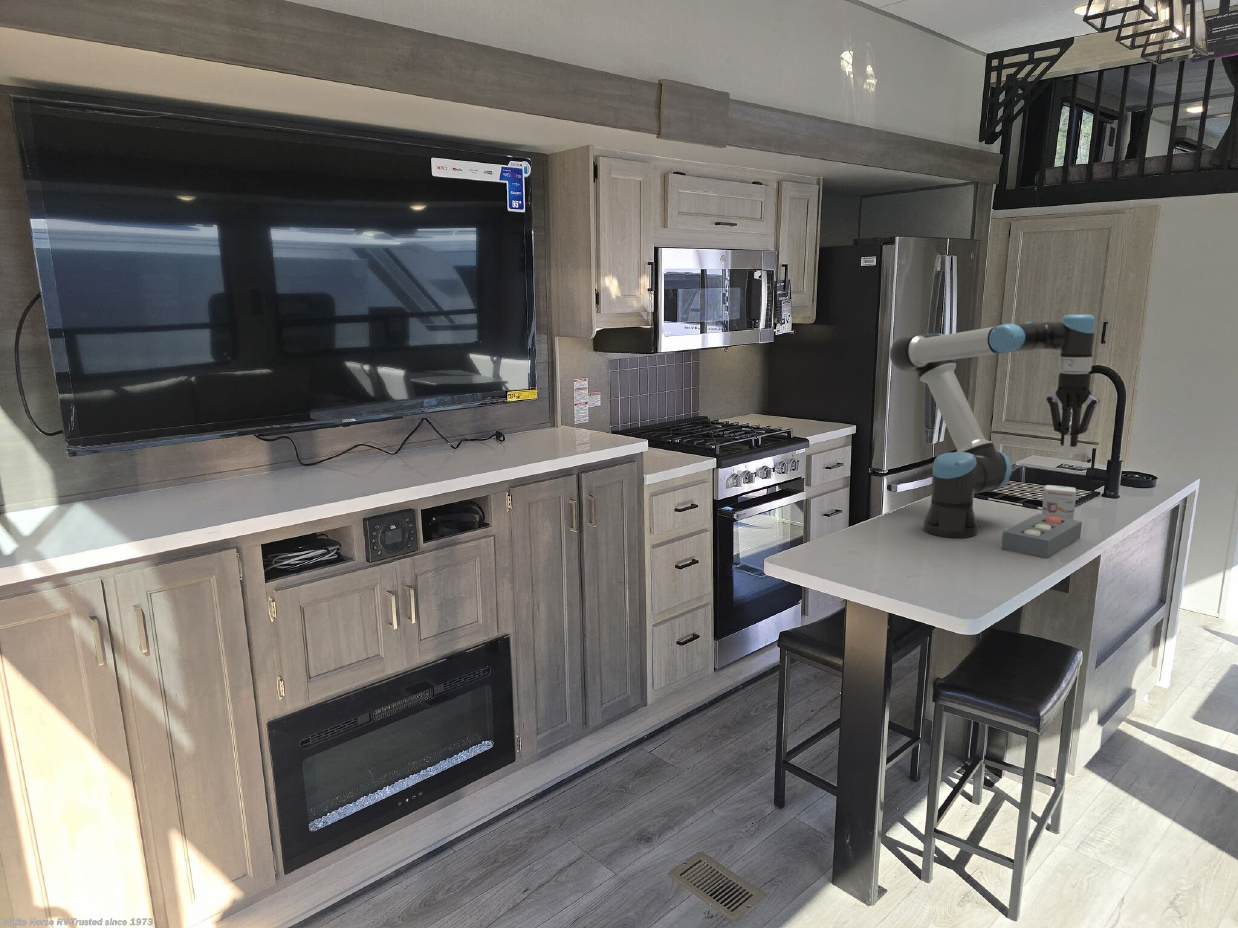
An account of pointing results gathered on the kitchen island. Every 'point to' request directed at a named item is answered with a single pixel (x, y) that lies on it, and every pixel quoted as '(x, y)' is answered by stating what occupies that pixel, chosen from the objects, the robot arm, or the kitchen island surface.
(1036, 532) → the ivory egg
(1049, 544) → the grey socket block
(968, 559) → the kitchen island surface
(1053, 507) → the ink box
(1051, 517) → the red egg
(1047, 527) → the cream egg
